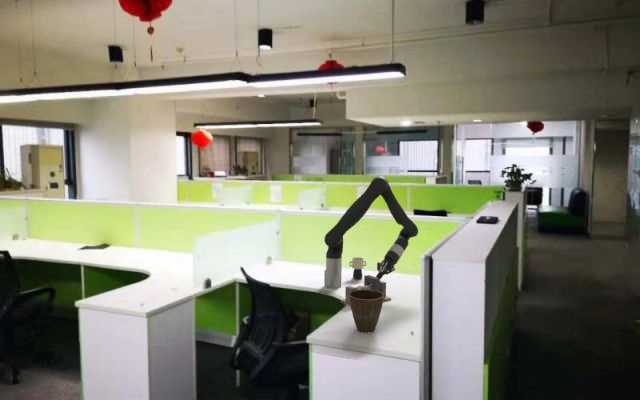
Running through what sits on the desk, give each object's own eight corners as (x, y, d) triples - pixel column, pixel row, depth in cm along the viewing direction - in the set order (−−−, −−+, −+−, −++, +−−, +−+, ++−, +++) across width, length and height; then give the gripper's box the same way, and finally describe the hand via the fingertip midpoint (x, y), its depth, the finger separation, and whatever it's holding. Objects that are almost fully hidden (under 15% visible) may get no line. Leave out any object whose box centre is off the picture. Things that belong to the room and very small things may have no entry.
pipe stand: (375, 295, 265) (376, 279, 264) (391, 300, 255) (391, 283, 255) (340, 302, 250) (340, 285, 250) (355, 307, 241) (355, 290, 240)
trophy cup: (364, 277, 307) (364, 257, 306) (367, 279, 300) (367, 259, 299) (348, 277, 305) (348, 257, 304) (350, 280, 298) (350, 259, 297)
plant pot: (380, 338, 199) (380, 300, 198) (345, 334, 203) (345, 297, 202) (385, 326, 214) (385, 291, 212) (352, 323, 218) (353, 288, 216)
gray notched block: (368, 291, 259) (368, 274, 259) (379, 294, 252) (379, 278, 252) (364, 291, 258) (364, 275, 257) (375, 295, 250) (375, 279, 250)
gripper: (382, 247, 267) (365, 272, 260) (399, 251, 256) (382, 277, 250) (389, 256, 270) (372, 280, 264) (406, 260, 259) (389, 285, 253)
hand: (377, 278), depth 257 cm, fingers closed
